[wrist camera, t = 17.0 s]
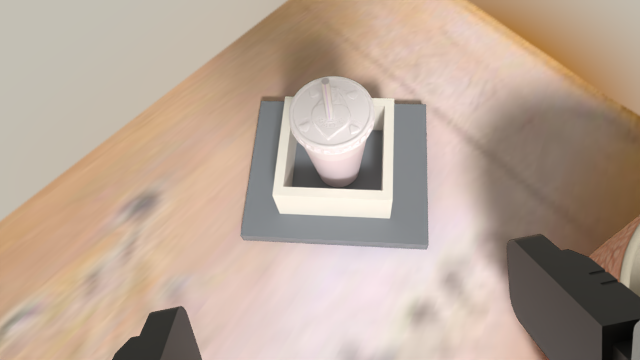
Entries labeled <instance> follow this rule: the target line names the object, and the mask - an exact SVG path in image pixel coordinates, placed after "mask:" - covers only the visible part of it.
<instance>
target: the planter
mask: <svg viewBox="0 0 640 360" xmlns="http://www.w3.org/2000/svg"><path fill="white" fill-rule="evenodd" d="M589 258H591V259H592V260H593V261H595V262H596V263H597V264H598V265H600V266H601V267H602V268H604V269H605V272H609V273H610V274H611V275H612V276H614V277H615V278H616V279H618V282H621V283H623V284H624V285H625V286H626V287H628V288H629V289H630V290H632V291H633V292H634V293H635V294H637V295H638V296H639V297H640V215H639V216H637V217H636V218H635V219H634V220H632V221H631V222H630V223H629V224H627V225H626V226H625V227H624V228H623V229H621V230H620V231H619V232H618V233H616V234H615V235H614V236H612V237H611V238H610V239H608V240H607V241H606V242H605V243H604V244H603V245H601V246H600V247H599V248H598V249H597V250H595V251H594V252H593V253H592V254H591V255H590V256H589Z"/></svg>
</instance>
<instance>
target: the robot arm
mask: <svg viewBox="0 0 640 360" xmlns="http://www.w3.org/2000/svg"><path fill="white" fill-rule="evenodd" d="M507 260H508V275H509V290H510V299H511V304H512V307H513V310H514V312H515V315H516V317H517V318H518V320H519V322H520V323H521V324H522V325H523V327H524V328H525V329H526V331H527V332H528V333H529V334H530V336H531V337H532V338H533V340H534V341H535V342H536V343H537V345H538V346H539V347H540V349H541V350H542V351H543V352H544V354H545V355H546V356H547V358H548V359H549V360H640V297H639V296H638V295H637V294H635V293H634V292H633V291H632V290H630V289H629V288H628V287H626V286H625V285H624V284H623V283H621V282H618V279H616V278H615V277H614V276H612V275H611V274H610V273H609V272H605V269H604V268H602V267H601V266H600V265H598V264H597V263H596V262H595V261H593V260H592V259H591V258H589V257H587V256H584V255H582V254H579V253H577V252H574V251H572V250H569V249H567V250H562V251H561V250H560V249H559V248H558V247H557V246H555V245H554V244H553V243H552V242H551V241H549V240H548V239H547V238H546V237H545V236H543V235H541V234H537V235H532V236H527V237H522V238H517V239H513V240H509V241H508V244H507ZM112 360H202V358H201V355H200V352H199V349H198V346H197V343H196V339H195V336H194V333H193V330H192V327H191V324H190V321H189V318H188V315H187V312H186V310H185V309H184V308H183V307H182V306H180V307H175V308H170V309H165V310H160V311H155V312H151V313H150V314H149V316H148V318H147V320H146V322H145V325H144V327H143V329H142V331H141V334H140V336H136V337H131V338H130V339H129V340H128V341H127V342H126V343H125V344H124V345H123V346H122V347H121V348H120V349H119V350H118V351H117V352H116V353H115V355H114V357H113V359H112Z"/></svg>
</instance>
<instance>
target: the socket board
mask: <svg viewBox="0 0 640 360" xmlns="http://www.w3.org/2000/svg"><path fill="white" fill-rule="evenodd" d="M292 99H293V97H287V96H285V101H261V106H260V113H259V119H258V126H257V132H256V139H255V145H254V152H253V158H252V165H251V171H250V178H249V184H248V191H247V197H246V204H245V210H244V216H243V223H242V229H241V237H242V239H243V240H252V241H272V242H291V243H311V244H331V245H350V246H370V247H389V248H409V249H427V247H428V198H427V140H426V104H394V99H389V98H372V101H373V104H374V111H375V122H374V126H373V129H372V131H371V133H370V135H369V136H368V138H367V139H366V143H365V148H364V152H363V156H362V160H361V165H360V169H359V173H358V176H357V178H356V179H355V180H354V181H353V182H352V183H351V184H349V185H347V186H344V187H332V186H329V185H327V184H326V183H325V182H324V181H323V180H322V179H321V177H320V176H319V174H318V172H317V170H316V168H315V166H314V164H313V162H312V161H311V159H310V157H309V155H308V153H307V151H306V149H305V148H304V147H303V146H302V145H301V144H300V143H298V141H297V140H296V138H295V137H294V135H293V134H292V131H291V128H290V121H289V107H290V104H291V101H292Z"/></svg>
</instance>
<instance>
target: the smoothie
mask: <svg viewBox="0 0 640 360" xmlns="http://www.w3.org/2000/svg"><path fill="white" fill-rule="evenodd" d="M289 121H290V128H291V131H292V134H293V135H294V137H295V138H296V140H297V141H298V143H300V144H301V145H302V146H303V147H304V148H305V149H306V151H307V153H308V155H309V157H310V159H311V161H312V162H313V164H314V166H315V168H316V170H317V172H318V174H319V176H320V177H321V179H322V180H323V181H324V182H325V183H326V184H327V185H329V186H332V187H344V186H347V185H349V184H351V183H352V182H353V181H354V180H355V179H356V178H357V176H358V173H359V169H360V165H361V160H362V156H363V152H364V148H365V143H366V139H367V138H368V136H369V135H370V133H371V131H372V129H373V126H374V122H375V111H374V104H373V101H372V98H371V96H370V94H369V93H368V91H367V90H366V89H365V88H364V87H363V86H362V85H360V84H359V83H357V82H356V81H354V80H351V79H349V78H345V77H340V76H327V77H322V78H318V79H315V80H313V81H311V82H309V83H307V84H306V85H304V86H303V87H302V88H301V89H300V90H299V91H298V92H297V93H296V94H295V96H294V97H293V99H292V101H291V104H290V107H289Z"/></svg>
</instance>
